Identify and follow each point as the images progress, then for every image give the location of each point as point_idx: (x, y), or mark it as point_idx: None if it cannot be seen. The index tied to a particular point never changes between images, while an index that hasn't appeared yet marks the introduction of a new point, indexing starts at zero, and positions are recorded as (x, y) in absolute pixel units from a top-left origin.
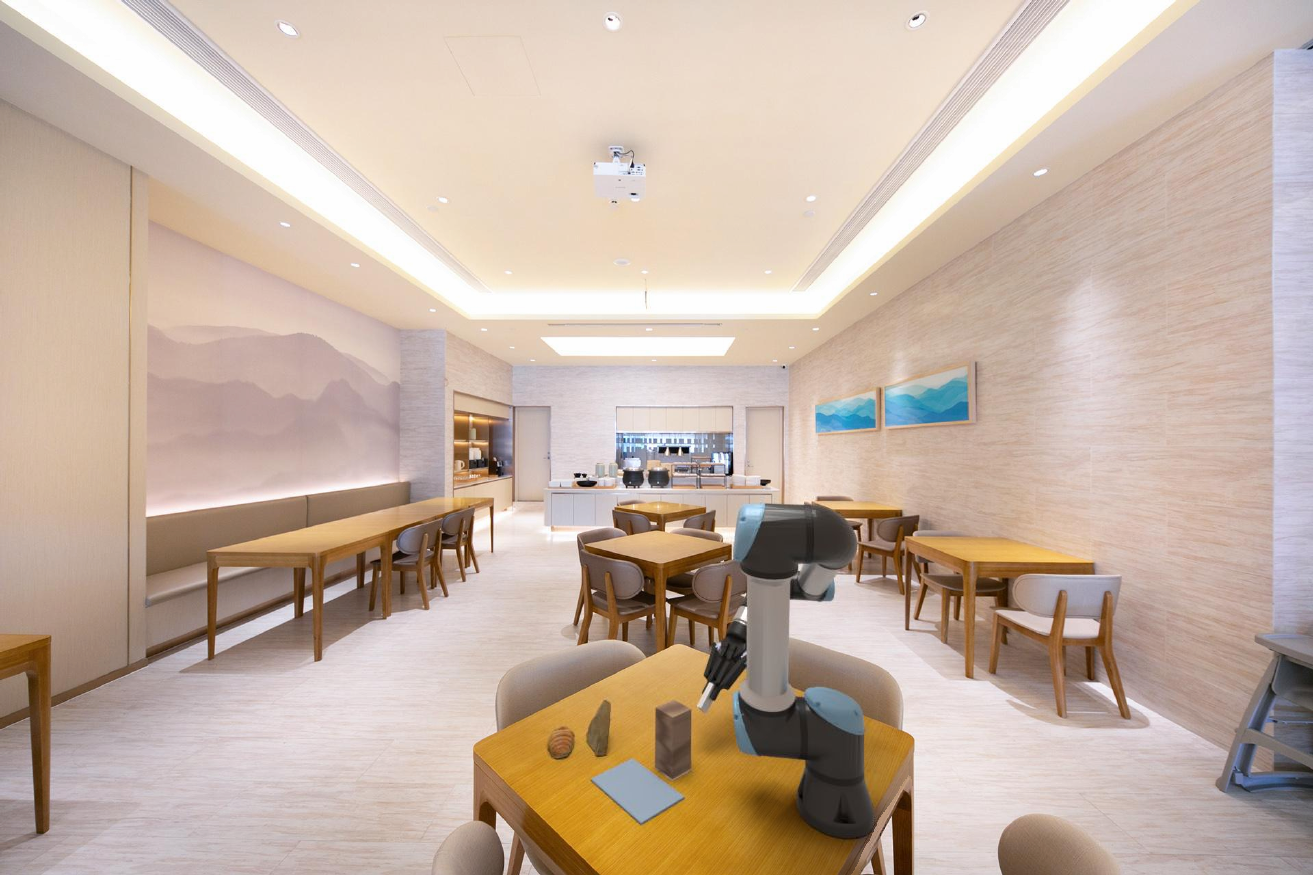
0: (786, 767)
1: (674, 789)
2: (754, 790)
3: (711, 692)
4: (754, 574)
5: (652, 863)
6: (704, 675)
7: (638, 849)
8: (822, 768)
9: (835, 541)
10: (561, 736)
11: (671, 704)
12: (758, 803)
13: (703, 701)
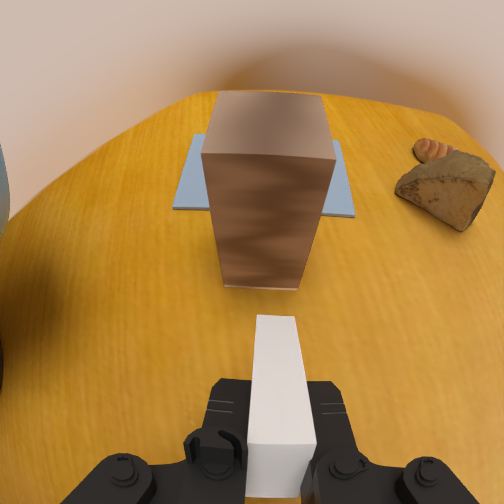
0: (51, 461)
1: (202, 207)
2: (66, 331)
3: (247, 407)
4: None
5: (143, 121)
6: (429, 464)
7: (169, 120)
8: None
9: None
10: (447, 149)
11: (303, 130)
12: (49, 299)
13: (262, 336)
